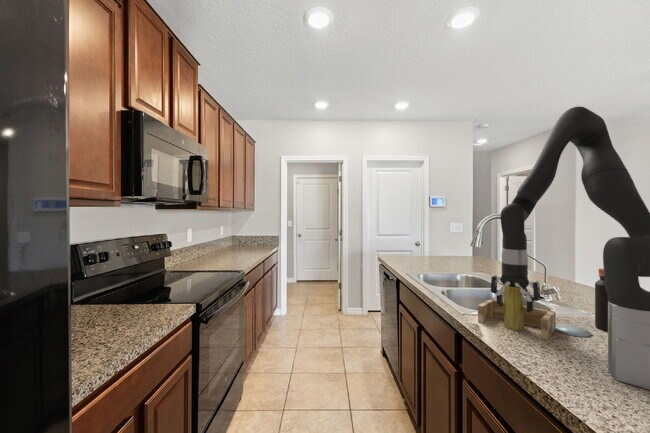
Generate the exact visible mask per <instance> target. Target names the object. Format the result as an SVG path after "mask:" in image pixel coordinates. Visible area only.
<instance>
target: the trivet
mask: <svg viewBox="0 0 650 433" xmlns="http://www.w3.org/2000/svg"><path fill="white" fill-rule="evenodd" d="M555 331H557V332H559V333H562V334H564V335H569V336H573V337H579V338H581V337H582V338H583V337H584V338H587V337H590V336H591V332H590V331H589V330H588V329H586V328H583V327H580V326H577V325H571V324H566V323H562V324H561V323H559V324H555Z"/></svg>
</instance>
